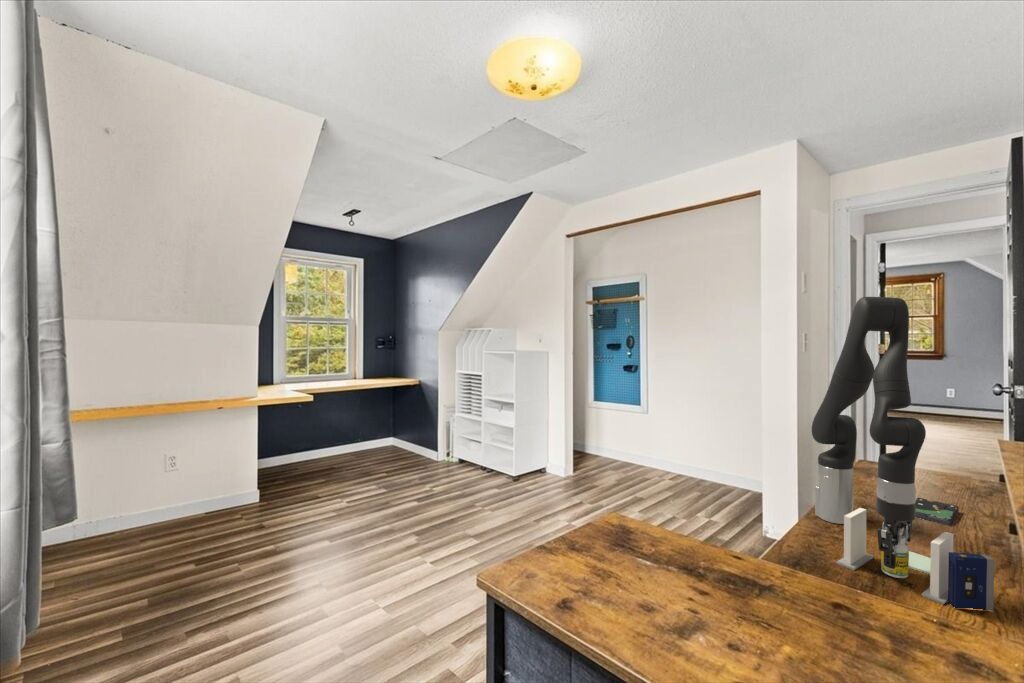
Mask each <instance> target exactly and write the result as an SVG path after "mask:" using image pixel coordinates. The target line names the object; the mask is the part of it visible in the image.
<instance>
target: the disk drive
mask: <svg viewBox="0 0 1024 683" xmlns="http://www.w3.org/2000/svg"><path fill="white" fill-rule="evenodd" d="M957 514H959V506H958V505H954V504H949V503H947V502H946V503H945V502H941V501H931V500H928V499H927V498H922V497H916V515H915V517H917V518H916V519H918V518H921V519H920V520H922V519H924V520H923V521H927V520H928V521H927V522H931V521H933V522H932V523H935V522H937V523H936V524H939V523H940V525H943V524H944V526H947V527H951V526H952V525H953V522H954V521H955V519H956V517H957Z"/></svg>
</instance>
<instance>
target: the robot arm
mask: <svg viewBox="0 0 1024 683" xmlns="http://www.w3.org/2000/svg"><path fill="white" fill-rule="evenodd" d="M909 314H910V312H909V306H908V304H907V303H906V301H905V299H903V298H900V297H889V296H888V297H887V296H863V297H860V298H858V300H857V301H856V303H855V305H854V308H853V310H852V313H851V315H850V316H851V317H850V321H849V325H848V328H847V332H846V337H845V341H844V343H843V346H842V349H841V352H840V356H839V358H838V360H837V362H836V365H835V368H834V370H833V372H832V375H831V379H830V381H829V382H830V383H829V386H828V388H827V391H826V393H825V395H824V398H823V400H822V402H821V404H820V406H819V408H818V410H817V411H816V414H815V416H814V418H813V420H812V425H811V436H812V438H813V440H814V441H815V442H817V444H822V445H833V446H832V448H830V449H828V450H826V451H823V452H820V453H819V454H818V456H817V485H816V486H815V487H814V503H815V504H814V515H816V517H818V518H819V519H822V520H823V521H826V522H828V523H832V524H833V523H834V524H839V525H844V516H845V515H847V514H849V513H851V512H853V511H854V462H855V460H856V452H857V451H856V449H857V441H858V440H857V439H858V438H857V434H858V433H857V432H858V430H857V424H856V422H855V420H854V419H853V417H851V416H850V415H846V414H842V413H843V411H845V410H846V409H848V407H850V406H851V405H853V404H855V402H857V401H858V400H860V399H861V398H862V397H863V396H864V395H865V394H866V393H867V392H868V390H869V388H870V386H871V383H872V386H873V393H874V394H873V395H874V408H873V414H872V416H871V417H872V418H871V421H870V424H869V435H870V438H871V439H872V440H873V441H874V443H877V444H878V445H882V446H893V447H894V446H895V447H901V448H900V449H899V450H897V451H894V452H887V453H881V454H880V455H879V456H878V460H877V463H878V464H877V465H878V466H877V482H876V497H875V499H876V503H875V504H876V508H875V510H876V513H877V514H879V515H880V516H882V517H883V518H884V520H883V522H882V524H881V527H878V528H877V530H876V531H877V544H878V551H880V552H881V551H883V552H884V566H886V567H888V568H891V569H894V568H895V567H896V549H897V546H899V545H900V541H901V536H904V537H905V545H906V546H907V547H908V545H909V543H910V542H911V541H912V539H911V538H912V528H913V521H915V519H916V518H915V515H916V499H917V491H916V482H915V481H916V480H915V479H916V478H915V477H916V464H917V460H918V457H919V454H920V451H921V449H922V447H923V444H924V443H925V440H926V436H927V433H926V432H927V431H926V427H925V425H924V424H923V422H922V420H919V419H917V418H915V417H908V416H906V417H904V416H888V414H889V412H890V411H893V410H900V409H906V408H908V407H910V406H911V404H912V403H911V402H912V398H911V397H912V396H911V392H910V389H911V388H910V383H909V377H908V375H909V374H908V352H909V351H908V349H909V332H910V331H909V328H910V315H909ZM869 332H879V333H880V332H882V333H883V332H884V333H888V336H889V343H888V346H887V349H886V350H885V352H884V353H883V355H882V357H881V358H880V359H879V361H878V363H877V364H876V366H875V365H874V363H873V361H872V359H871V356H870V355H869V353H868V351H867V348H866V345H865V339H866V337H867V335H868V333H869ZM892 538H893V539H896V541H892ZM892 544H893V546H892ZM887 545H888V547H887Z"/></svg>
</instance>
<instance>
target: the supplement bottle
mask: <svg viewBox="0 0 1024 683" xmlns="http://www.w3.org/2000/svg"><path fill="white" fill-rule="evenodd" d="M892 541H896V539H893V538H892ZM892 546H893V544H892ZM887 547H888V545H887ZM909 551H910V550H909V547H908V545H907V546H906V545H905V537H904V536H901V541H900V545H899V546H897V549H896V567H895V568H894V569H891V568H888V567H886V566H884V552H883V551H880V569H881V571H882V572H883V573H884V574H886V575H888V576H890V577H893V578H895V579H896V578H897V579H906V578H908V577H909V572H910V571H909V569H910V568H909Z"/></svg>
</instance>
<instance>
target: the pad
mask: <svg viewBox="0 0 1024 683" xmlns="http://www.w3.org/2000/svg"><path fill="white" fill-rule="evenodd" d="M930 564H931V557H928V556H926V555H922V554H919V553H916V552H913V551H911V550H909V569H911V570H914V571H916V570H918V571H917V572H919V571H920V572H919V573H922V572H924V573H923V574H925V573H927V574H926V575H928V574H929V575H928V576H930Z"/></svg>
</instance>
